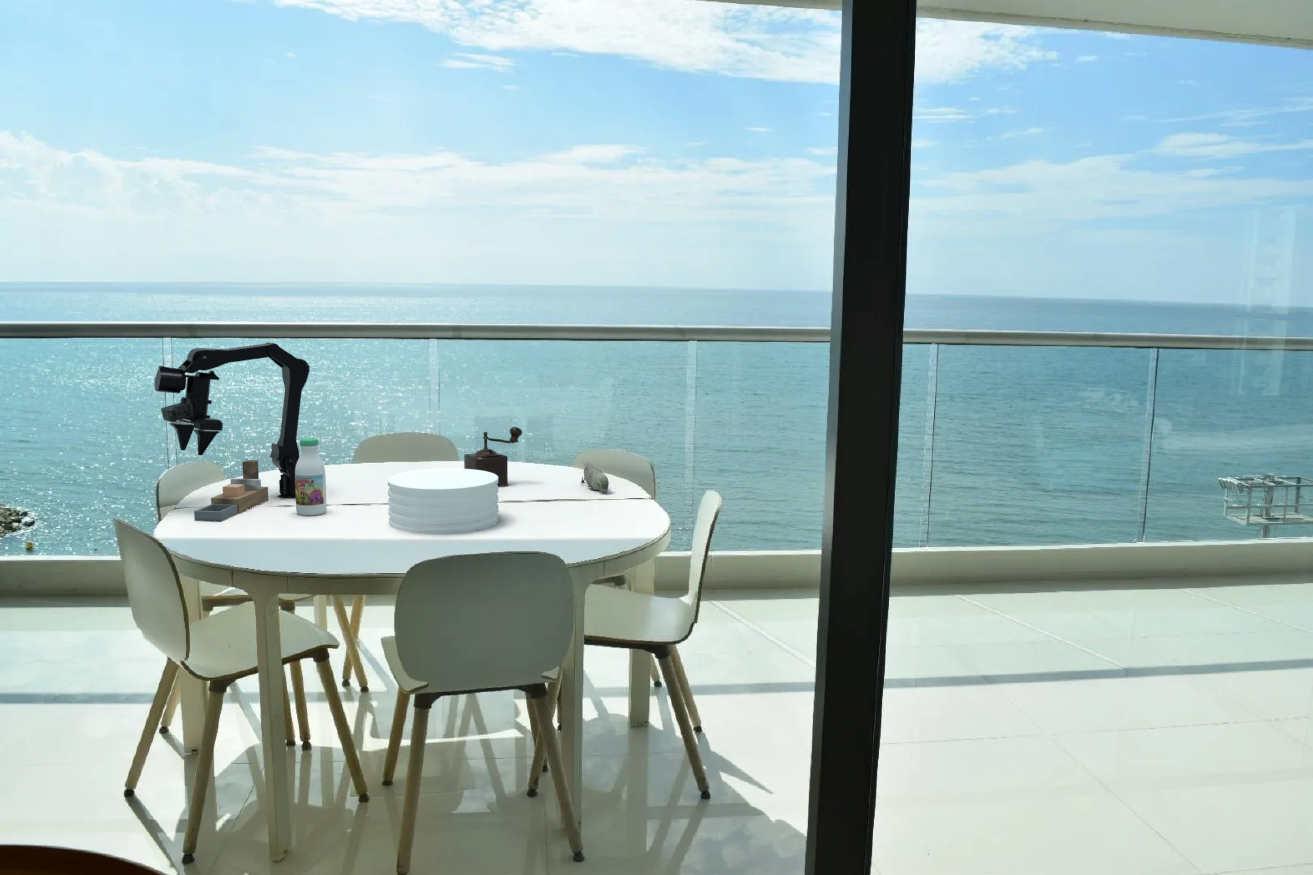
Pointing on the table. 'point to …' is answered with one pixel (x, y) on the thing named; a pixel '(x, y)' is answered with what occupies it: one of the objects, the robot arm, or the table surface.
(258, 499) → the walnut board
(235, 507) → the box
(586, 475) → the decorative bird
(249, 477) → the grey block with post
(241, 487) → the terracotta tile
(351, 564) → the table surface
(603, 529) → the table surface
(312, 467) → the milk bottle
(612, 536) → the table surface
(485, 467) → the manual coffee grinder
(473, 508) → the plate stack
